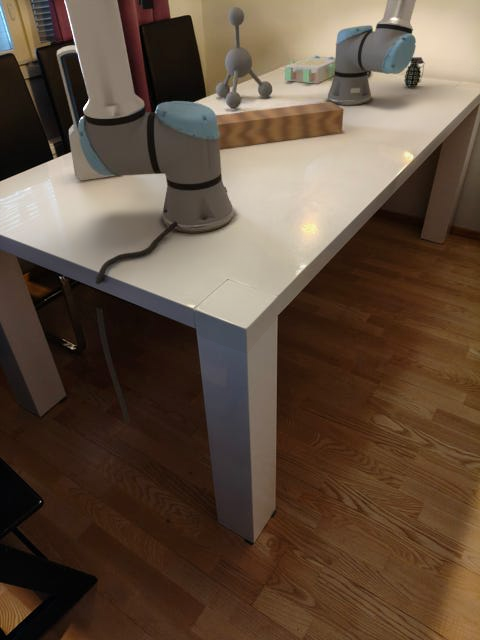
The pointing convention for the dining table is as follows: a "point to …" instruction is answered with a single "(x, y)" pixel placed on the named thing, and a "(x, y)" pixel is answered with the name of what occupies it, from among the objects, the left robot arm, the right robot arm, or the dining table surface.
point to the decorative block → (311, 70)
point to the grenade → (413, 72)
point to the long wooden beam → (279, 124)
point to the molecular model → (239, 66)
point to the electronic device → (75, 121)
